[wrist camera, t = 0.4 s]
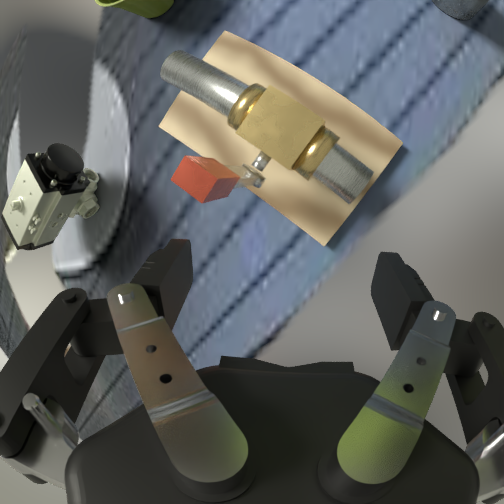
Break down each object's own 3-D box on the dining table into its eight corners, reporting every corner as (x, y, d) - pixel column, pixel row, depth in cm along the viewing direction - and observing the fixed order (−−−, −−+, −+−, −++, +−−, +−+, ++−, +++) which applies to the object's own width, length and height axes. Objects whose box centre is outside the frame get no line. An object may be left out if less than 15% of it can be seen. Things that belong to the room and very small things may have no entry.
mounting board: (228, 34, 37) (224, 30, 35) (400, 143, 36) (403, 142, 34) (163, 127, 43) (158, 126, 41) (324, 243, 42) (324, 246, 40)
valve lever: (248, 161, 33) (182, 153, 17) (270, 176, 33) (220, 180, 17) (239, 174, 34) (168, 178, 18) (260, 189, 33) (204, 205, 18)
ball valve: (79, 241, 53) (10, 267, 36) (59, 210, 52) (-10, 227, 35) (127, 176, 46) (46, 184, 30) (102, 143, 46) (24, 141, 29)
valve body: (211, 65, 37) (175, 37, 26) (366, 167, 36) (383, 164, 25) (181, 110, 40) (137, 94, 29) (330, 214, 39) (333, 230, 28)
